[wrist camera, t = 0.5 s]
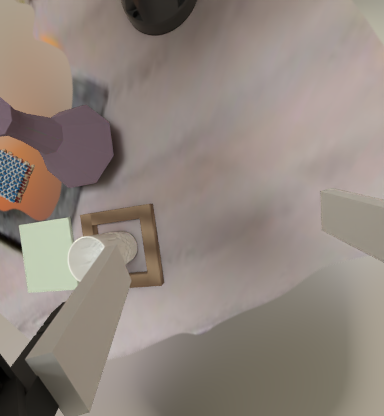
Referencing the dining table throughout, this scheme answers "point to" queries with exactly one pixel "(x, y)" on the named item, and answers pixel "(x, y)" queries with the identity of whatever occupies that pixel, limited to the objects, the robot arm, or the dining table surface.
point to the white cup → (98, 250)
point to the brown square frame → (148, 234)
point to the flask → (64, 141)
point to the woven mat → (13, 176)
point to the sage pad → (47, 255)
